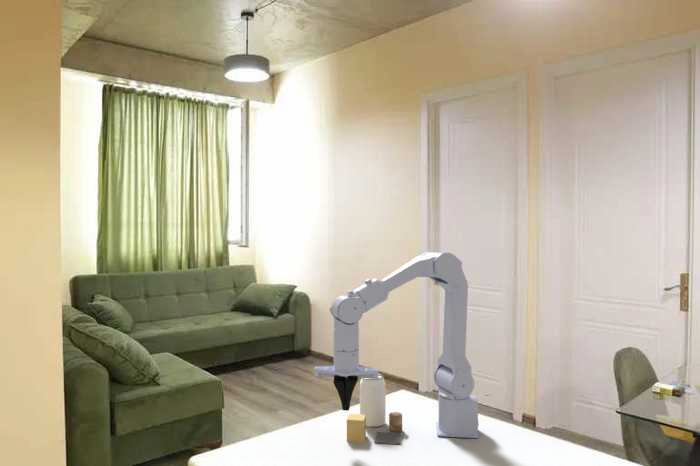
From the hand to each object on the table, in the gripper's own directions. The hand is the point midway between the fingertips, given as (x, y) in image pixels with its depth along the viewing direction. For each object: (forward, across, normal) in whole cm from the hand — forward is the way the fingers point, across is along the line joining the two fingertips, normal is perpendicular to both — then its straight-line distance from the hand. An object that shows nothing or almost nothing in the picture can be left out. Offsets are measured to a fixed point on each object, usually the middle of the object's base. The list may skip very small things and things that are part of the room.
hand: (346, 409), depth 121 cm
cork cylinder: (+8, +11, +11) cm, 17 cm away
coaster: (+8, +9, +6) cm, 14 cm away
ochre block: (+8, +2, +5) cm, 10 cm away
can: (+9, +5, +15) cm, 18 cm away
